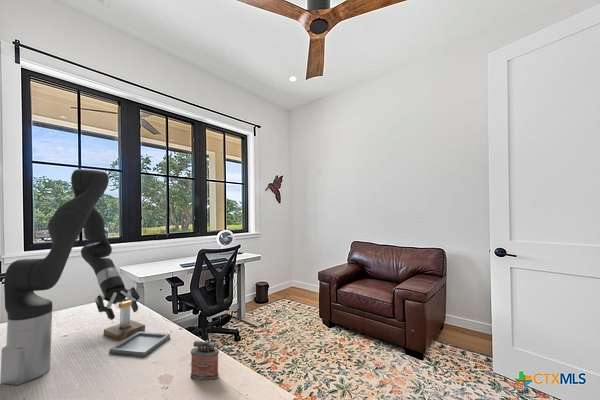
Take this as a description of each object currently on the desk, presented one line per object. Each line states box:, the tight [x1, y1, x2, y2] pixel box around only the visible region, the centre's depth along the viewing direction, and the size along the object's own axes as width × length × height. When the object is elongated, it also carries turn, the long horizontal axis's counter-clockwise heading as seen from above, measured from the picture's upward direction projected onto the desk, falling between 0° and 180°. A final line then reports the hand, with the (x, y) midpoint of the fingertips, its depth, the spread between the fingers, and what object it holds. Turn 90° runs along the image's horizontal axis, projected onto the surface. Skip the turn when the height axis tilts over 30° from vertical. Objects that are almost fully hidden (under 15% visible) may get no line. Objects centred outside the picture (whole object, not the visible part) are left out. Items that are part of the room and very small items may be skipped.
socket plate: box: [103, 319, 146, 341], centre depth 104 cm, size 10×10×2 cm
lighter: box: [190, 339, 220, 382], centre depth 76 cm, size 8×3×10 cm, turn 84°
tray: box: [109, 331, 171, 358], centre depth 94 cm, size 13×13×2 cm
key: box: [118, 300, 132, 330], centre depth 104 cm, size 4×2×12 cm, turn 151°
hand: (125, 314), depth 104 cm, fingers open, 8 cm apart
